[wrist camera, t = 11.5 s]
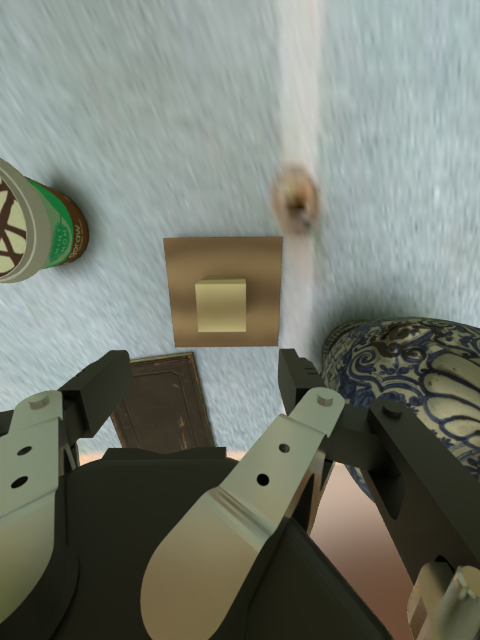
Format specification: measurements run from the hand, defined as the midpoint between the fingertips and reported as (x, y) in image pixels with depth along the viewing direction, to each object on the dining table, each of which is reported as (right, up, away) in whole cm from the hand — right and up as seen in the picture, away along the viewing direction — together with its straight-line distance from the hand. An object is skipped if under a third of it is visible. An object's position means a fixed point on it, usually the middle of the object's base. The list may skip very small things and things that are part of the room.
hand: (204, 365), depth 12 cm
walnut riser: (0, +7, +20) cm, 22 cm away
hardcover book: (-11, -14, +28) cm, 33 cm away
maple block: (0, +5, +17) cm, 18 cm away
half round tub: (-20, +14, +18) cm, 31 cm away
